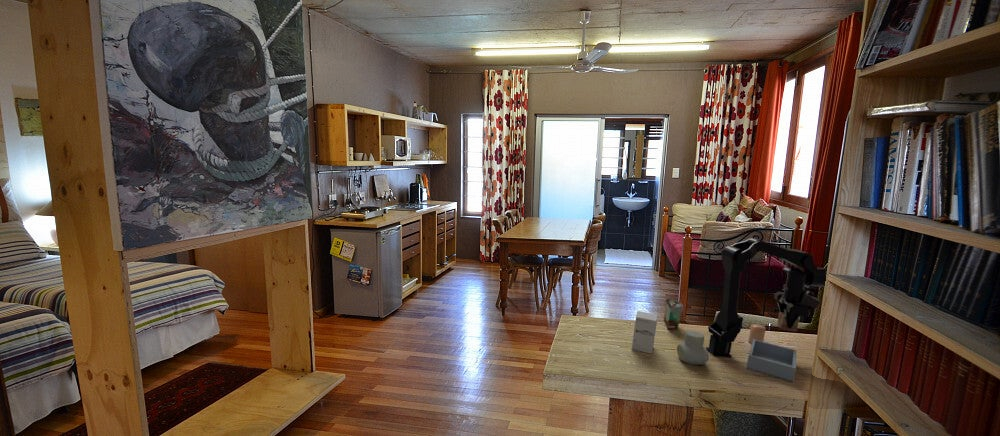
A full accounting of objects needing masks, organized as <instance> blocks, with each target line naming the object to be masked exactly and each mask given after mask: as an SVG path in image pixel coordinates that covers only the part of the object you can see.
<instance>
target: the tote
mask: <svg viewBox="0 0 1000 436" xmlns="http://www.w3.org/2000/svg"><path fill="white" fill-rule="evenodd" d="M750 345H751V346H750V349H749V354H748V358H747V363H746V370H748V371H752V372H756V373H757V374H758V373H759V374H762V375H766V376H769V377H773V378H776V379H779V380H783V381H786V382H789V383H794V381H795V376H796V370H797V349H793V348H789V347H785V346H782V345H778V344H773V343H769V342H766V341H759V340H755V339H753V342H752V344H750Z"/></svg>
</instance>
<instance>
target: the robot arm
mask: <svg viewBox="0 0 1000 436" xmlns="http://www.w3.org/2000/svg"><path fill="white" fill-rule="evenodd" d="M759 252H761V253H764V254H767V255H770V256H774V257H777V258H780V259H781V260H783V261H785V262H786V263H788V265H787V266H785V267H784V268H782V271H784V272H785V273H787V275H786V276H787V277H786V281H785V283H783V286H782V287H783V288H784V291H776V292H775V293H774V297H773V298H774V299H775V300H776V304H777V307H778V309H779V312H784V313H785V317H786V322H787V327H788V328H792V326H793V325H794V323H795V321H796V320H797V318H799V317H801V316H803V317H810V315H811V310H810V309H809V307H808V306H810V307H811V308H813V309H815V310H817V308H819V306H820V305H821V303H822V301H820V299H818V298H817V297H815V296H814V295H815V294H814V293H813V292H811V291H810V290H807V291H806V289H805V285H806V286H807V287H822V288H823V287H826V286H825V281H826V274H827V269H825V268H824V267H817V265H816V263H815V261H814V255H812V254H811V253H809V252H805V251H803V250H800V249H797V248H796V249H795V248H794V249H793V248H785V247H782V246H781V247H780V246H777V245H774V244H771V243H768V242H765V241H763V240H761V239H758V238H755V237H750V238H748V239H746V240H744V241H741V242H740V241H739V242H736V243H733V244H732V245H727V246H726V247H724V248H723V249H722V250H721V255H720V256H721V263H722V266H723V270H724V272H725V273H724V282H723V292H722V303H721V305H722V306H721V309H720V310H719V312H718V313H717V314H716V315H717V316H716V319H715V321H714V322H712V323H711V324H709V326H708V327H707V330H708V333H710V336H709V343H708V346H706V347H705V348H706V350H707V351H708V353H711V354H712V355H713V356H714V357H721V358H722V357H726V358H727V357H728V358H729V357H730V358H732V354H731V351H732V345H733V343H734V342H735V340H736V338H737V337H738V335H739V334H740V333H741V329H743V322H744V318H743V316H741V315H740V314H738V303H739V293H740V291H739V290H740V282H741V281H740V280H741V273H742V272H743V271H744V269H746V266H747V263H748V262H747V261H749V260H752V259H753V258H755V256H756V255H757V254H758V253H759ZM792 265H793V266H792ZM794 266H795V267H794ZM806 305H807V306H806Z"/></svg>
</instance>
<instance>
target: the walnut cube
mask: <svg viewBox="0 0 1000 436" xmlns="http://www.w3.org/2000/svg"><path fill="white" fill-rule="evenodd" d="M799 321H800V318H799V317H798V318H797V320H796V321H795V323H794V325H793V326H792V328H788V327H787V322H786V317H785V313H784V312H780V311H779V313H778V317H777V323H776V325H777V326H778V328H780V330H784V331H789V332H798V331H797V330H798V327H799Z"/></svg>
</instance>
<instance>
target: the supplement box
mask: <svg viewBox="0 0 1000 436" xmlns="http://www.w3.org/2000/svg"><path fill="white" fill-rule="evenodd" d="M658 317H659V315H658V314H654V313H650V312H644V311H640V310H637V311H636V316H635V323H634V330H633V336H632V344H631V350H634V351H638V352H639V351H640V352H644V353H648V354H653V350H654V343H655V336H656V332H657V322H658Z"/></svg>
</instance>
